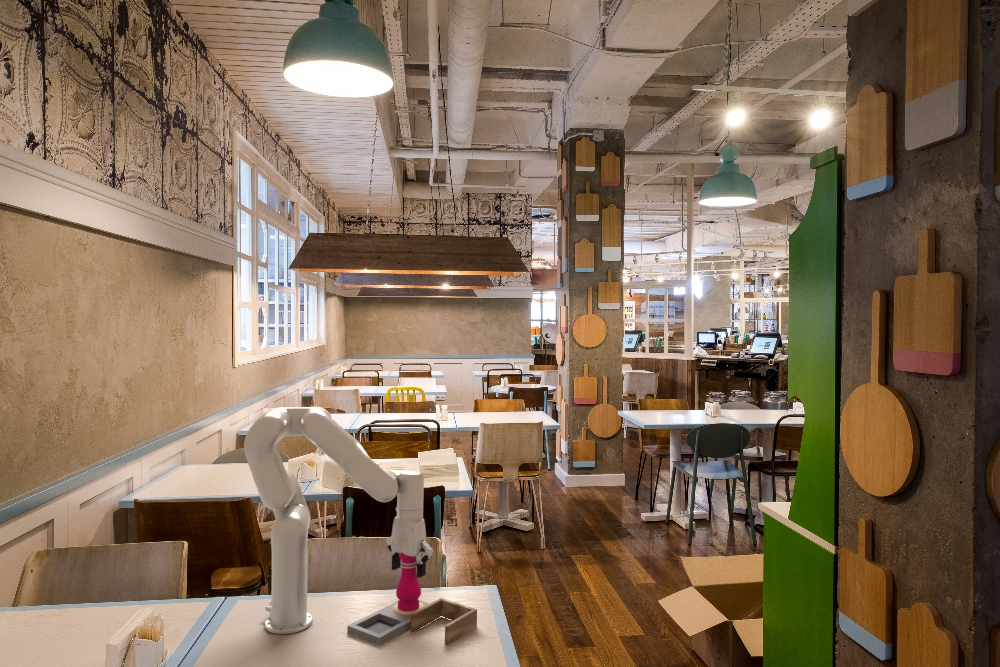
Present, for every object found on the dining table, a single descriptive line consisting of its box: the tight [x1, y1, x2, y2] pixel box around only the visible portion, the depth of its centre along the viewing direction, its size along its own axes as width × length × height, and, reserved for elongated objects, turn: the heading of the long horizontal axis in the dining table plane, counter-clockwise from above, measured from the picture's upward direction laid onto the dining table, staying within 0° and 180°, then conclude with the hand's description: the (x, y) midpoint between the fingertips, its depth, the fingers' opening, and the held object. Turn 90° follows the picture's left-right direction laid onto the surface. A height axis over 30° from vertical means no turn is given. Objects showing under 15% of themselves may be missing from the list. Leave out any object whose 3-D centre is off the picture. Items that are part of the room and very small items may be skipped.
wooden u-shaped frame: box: [410, 597, 478, 646], centre depth 177 cm, size 13×13×5 cm
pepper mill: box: [395, 553, 422, 612], centre depth 186 cm, size 7×7×20 cm
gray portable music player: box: [346, 599, 430, 646], centre depth 181 cm, size 12×24×2 cm, turn 146°
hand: (408, 572), depth 186 cm, fingers open, 9 cm apart
